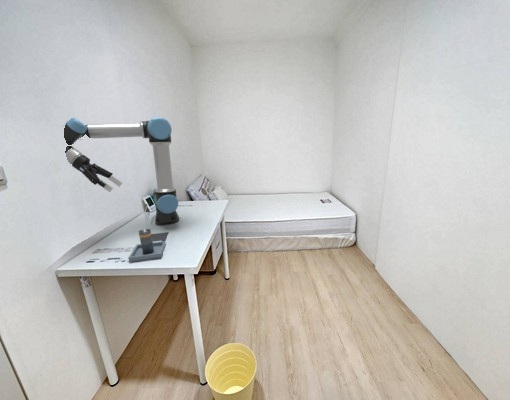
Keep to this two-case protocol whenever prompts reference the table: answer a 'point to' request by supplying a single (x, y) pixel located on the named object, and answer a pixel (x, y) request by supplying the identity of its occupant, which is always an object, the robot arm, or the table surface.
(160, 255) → the tray
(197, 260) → the table surface
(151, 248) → the battery cell
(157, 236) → the dark grey pad
